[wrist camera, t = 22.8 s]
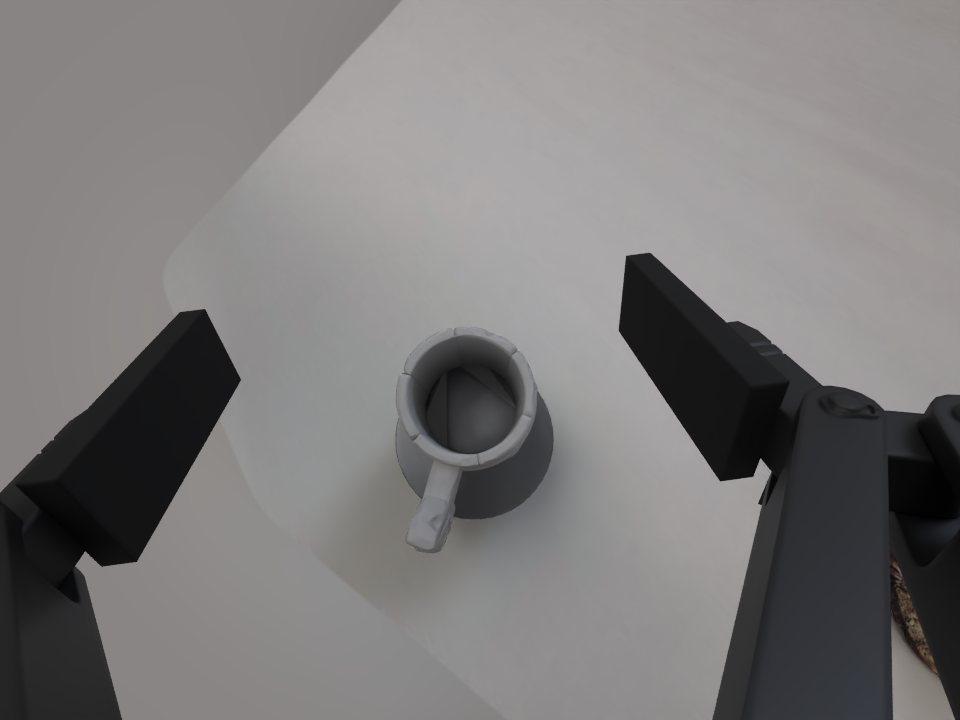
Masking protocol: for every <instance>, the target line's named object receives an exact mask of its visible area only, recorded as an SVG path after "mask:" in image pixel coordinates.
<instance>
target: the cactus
mask: <svg viewBox="0 0 960 720" xmlns="http://www.w3.org/2000/svg"><path fill="white" fill-rule="evenodd" d="M889 545H890V596H891V608H892V612H893V614H894V615H895V619H896V620H897V622H899V623H900V624H901V625H902V626H903V628H904V630H905V636H906V639H907V641H908V642H909V644H910V646H911V647H912V648H913V649H914V651H915V652H916V653H917V655H918V656H919V657H920V658H921V659H922V660H923V661H924V662H925V663H926V664H928V665H929V667H930V668H931V669H932V670H933V671H934V672H935V673H937V674H938V672H937V669H936V666H935V663H934V661H933V658H932V655H931V653H930V650H929V647H928V644H927V642H926V639H925V636H924V634H923V631H922V628H921V625H920V623H919V620H918V617H917V615H916V612H915V609H914V607H913V604H912V601H911V598H910V596H909V593H908V590H907V588H906V585H905V582H904V579H903V577H902V574H901V571H900V569H899V566H898V563H897V560H896V558H895V555H894V552H893V550H892V547H891V544H890V542H889Z"/></svg>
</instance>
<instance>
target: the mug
mask: <svg viewBox="0 0 960 720" xmlns="http://www.w3.org/2000/svg"><path fill="white" fill-rule="evenodd" d="M454 332H455V333H454ZM461 366H462V367H463V368H464V369H465V370H467V371H468V372H469V373H471V374H472V375H473V376H474V377H476V378H477V379H478V380H480V381H481V382H482V383H483V384H485V385H486V386H487V387H489V388H490V389H491V390H492V391H494V392H495V393H496V394H498V395H499V396H500V397H501V398H503V399H504V400H505V401H507V402H508V403H509V404H510V405H512V406H513V407H514V408H515V409H516V413H515V419H514V424H513V426H512V428H511V430H510V432H509V434H508V435H507V436H506V438H505V439H504V440H503V441H502V442H501V443H499V444H498V445H496V446H495V447H493V448H491V449H489V450H487V451H484V452H481V453H479V454H463V453H459V452H455V451H453V450H451V449H449V448H447V372H448V371H450V370H452V369H454V368H457V367H461ZM490 369H491V370H493V371H495V372H496V373H497V374H499V375H500V376H501V377H502V378H503V379H505V381H506V383H507V384H508V385H509V387H510V389H511V391H512V393H513V396H514V399H515V404H514V403H513V401H512V400H511V398H510V397H509V396H508V394H507V393H506V391H505V390H504V389H503V387H502V386H501V384H500V383H499V382H498V380H497V379H496V377H495V376H494V374H493V373H492V372H491V370H490ZM404 371H405V374H401V375H400V376H399V378H398V383H397V389H396V404H397V411H398V415H399V418H400V421H401V424H402V426H403V428H404V430H405V432H406V434H407V435H408V437H409V438H410V440H411V442H412V443H413V444H414V446H415V447H416V448H417V449H418V450H419V451H420V452H421V453H422V454H423V455H424V456H426V457H427V458H428V459H430V460H431V461H433V464H432V468H431V471H430V475H429V478H428V481H427V485H426V488H425V492H424V495H423V498H422V500H421V502H420V504H419V506H418V508H417V509H416V511H415V513H414V515H413V518H412V520H411V522H410V524H409V527H408V531H407V534H406V538H405V540H406V543H407V544H409V545H411V546H414V548H415V550H416V551H419V552H426V553H436V552H439V551H441V550H442V548H443V546H444V544H445V542H446V539H447V535H448V534H449V531H450V529H451V524H452V520H453V517H454V513H455V505H454V501H455V497H456V494H457V490H458V486H459V482H460V478H461V474H462V471H474V470H481V469H485V468H489V467H492V466H494V465H496V464H499V463H500V462H502V461H504V460H506V459H508V458H511V457H512V456H514V455H515V454H516V453H517V452H518V450H519V449H520V447H521V446H522V444H523V442H524V441H525V439H526V438H527V436H528V434H529V432H530V430H531V428H532V425H533V423H534V419H535V415H536V408H537V385H536V383H535V381H534V379H533V375H532V372H531V370H530V367H529V365H528V363H527V361H526V359H525V358H524V356H523V355H522V354H521V352H520V351H517V348H516V347H515V346H514V345H513V344H512V343H511V342H509V341H508V340H507V339H505V338H504V337H501V336H497V335H495V334H493V333H490V332H488V331H487V330H484V329H480V328H472V327H459V328H455V329H454V330H453V329H452V328H450V329H446V330H443V331H441V332H438V333H436V334H434V335H432V336H431V337H429V338H427V339H426V340H425V341H423V342H422V343H421V344H420V345H419V346H418V347H417V348H416V349H415V350H414V351H413V352H412V353H411V354H410V356H409V357H408V359H407V360H406V363H405V366H404ZM441 376H442V377H441ZM440 377H441V379H440V382H439V384H438V387H437V389H436V392H435V394H434V396H433V399H432V401H431V404H430V406H429V409H428V411H426V408H427V401H428V398H429V394H430V392H431V390H432V388H433V386H434V384H435V383H436V382H437V380H438V379H439V378H440Z"/></svg>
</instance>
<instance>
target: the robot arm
mask: <svg viewBox="0 0 960 720" xmlns="http://www.w3.org/2000/svg"><path fill="white" fill-rule="evenodd" d="M619 332H620V333H621V335H622V336H623V338H624V339H625V341H626V342H627V344H628V345H629V347H630V348H631V350H632V351H633V353H634V354H635V356H636V357H637V359H638V360H639V362H640V363H641V365H642V366H643V368H644V369H645V371H646V372H647V373H648V375H649V376H650V378H651V379H652V381H653V382H654V384H655V385H656V387H657V388H658V390H659V391H660V393H661V394H662V396H663V397H664V399H665V400H666V402H667V403H668V405H669V406H670V408H671V409H672V411H673V412H674V414H675V415H676V417H677V418H678V420H679V421H680V423H681V424H682V425H683V427H684V428H685V430H686V431H687V433H688V434H689V436H690V437H691V439H692V440H693V442H694V443H695V445H696V446H697V448H698V449H699V451H700V452H701V454H702V455H703V457H704V458H705V460H706V461H707V463H708V464H709V466H710V467H711V469H712V470H713V472H714V473H715V475H716V476H717V477H718V479H719V480H720V481H726V480H733V479H740V478H748V477H753V476H754V473H755V471H756V468H757V466H758V463H759V460H760V458H761V459H762V460H763V462H764V463H765V464H766V465H767V466H768V468H769V469H770V470H771V471H772V472H771V474H770V477H769V479H768V481H767V484H766V486H765V489H764V491H763V493H762V496H761V498H760V500H759V503H758V504H760V505H762V507H761V512H760V516H759V520H758V525H757V529H756V533H755V537H754V542H753V546H752V550H751V555H750V559H749V563H748V568H747V572H746V576H745V581H744V585H743V589H742V594H741V598H740V602H739V607H738V611H737V615H736V620H735V624H734V628H733V633H732V637H731V641H730V646H729V650H728V654H727V659H726V663H725V667H724V672H723V676H722V680H721V685H720V689H719V693H718V698H717V702H716V706H715V711H714V715H713V719H712V720H893V699H892V648H891V596H890V545H889V542H890V544H891V547H892V550H893V552H894V555H895V558H896V560H897V563H898V566H899V569H900V571H901V574H902V577H903V579H904V582H905V585H906V588H907V590H908V593H909V596H910V598H911V601H912V604H913V607H914V609H915V612H916V615H917V617H918V620H919V623H920V625H921V628H922V631H923V634H924V636H925V639H926V642H927V644H928V647H929V650H930V653H931V655H932V658H933V661H934V663H935V666H936V669H937V672H938V674H939V677H940V680H941V682H942V685H943V688H944V690H945V693H946V696H947V699H948V701H949V704H950V707H951V709H952V712H953V715H954V718H955V720H960V395H943V396H939V397H936V398H935V399H934V400H933V401H932V402H931V403H930V405H929V407H928V408H927V410H926V411H925V413H924V414H919V413H908V412H896V411H884V409H883V408H881V407H880V406H879V405H878V404H877V403H876V402H875V401H874V400H872V399H870V398H868V397H867V396H865V395H863V394H861V393H859V392H856V391H853V390H850V389H847V388H842V387H835V386H822V385H821V384H820V383H819V382H818V381H816V380H815V379H814V378H813V377H812V376H811V375H809V374H808V373H807V372H806V371H805V370H804V369H802V368H801V367H800V366H799V365H798V364H797V363H795V362H794V361H793V360H792V359H791V358H790V357H788V356H787V355H786V354H783V353H782V351H781V350H780V349H779V348H778V347H777V346H775V345H774V344H771V341H770V340H768V339H767V338H766V337H765V336H764V335H763V334H761V333H760V332H759V331H758V330H756V329H754V328H752V327H750V326H747V325H745V324H743V323H741V322H739V321H735V322H728V323H726V322H725V321H724V320H723V319H722V318H721V317H720V316H719V315H717V314H716V313H715V312H714V311H713V310H712V309H711V308H710V307H709V306H708V305H707V304H705V303H704V302H703V301H702V300H701V299H700V298H699V297H698V296H697V295H696V294H695V293H694V292H692V291H691V290H690V289H689V288H688V287H687V286H686V285H685V284H684V283H683V282H682V281H680V280H679V279H678V278H677V277H676V276H675V275H674V274H673V273H672V272H671V271H670V270H668V269H667V268H666V267H665V266H664V265H663V264H662V263H661V262H660V261H659V260H658V259H657V258H655V257H654V256H653V255H652V254H651V253H645V254H637V255H629V256H626V263H625V273H624V283H623V293H622V303H621V313H620V323H619ZM240 381H241V379H240V377H239V375H238V373H237V371H236V369H235V367H234V365H233V363H232V361H231V359H230V357H229V355H228V353H227V351H226V349H225V347H224V345H223V343H222V341H221V339H220V338H219V336H218V334H217V332H216V330H215V328H214V326H213V324H212V322H211V320H210V318H209V316H208V314H207V312H206V310H205V309H202V310H194V311H186V312H180V313H179V314H178V315H177V316H176V317H175V318H174V319H173V320H172V321H171V322H170V323H169V324H168V325H167V326H166V327H165V329H163V330H162V331H161V333H160V334H159V335H158V336H157V337H156V338H155V339H154V340H153V341H152V342H151V343H150V344H149V345H148V346H147V347H146V348H145V349H144V350H143V351H142V352H141V353H140V354H139V356H138V357H137V358H136V359H135V360H134V361H133V362H132V363H131V364H130V365H129V366H128V367H127V368H126V369H125V370H124V371H123V372H122V373H121V374H120V375H119V377H118V378H117V379H116V380H115V381H114V382H113V383H112V384H111V385H110V386H109V387H108V388H107V389H106V390H105V391H104V392H103V393H102V394H101V395H100V396H99V398H97V399H96V401H95V402H94V403H93V404H92V405H91V406H90V407H89V408H88V409H87V410H86V411H84V412H83V413H82V414H80V415H79V416H77V417H75V418H74V419H73V420H71V421H70V422H69V423H68V424H67V425H66V426H65V427H64V428H63V429H62V430H61V431H60V432H59V433H58V434H57V435H56V436H55V437H54V440H53V441H50V442H49V443H48V444H47V445H46V446H45V447H44V448H43V449H42V450H41V451H42V453H41V454H37V455H36V457H35V458H34V459H33V460H32V461H31V462H30V463H29V464H28V465H27V466H26V467H25V468H24V469H23V470H22V471H21V472H20V473H19V474H18V475H17V476H16V477H15V478H14V479H13V480H12V481H11V482H10V483H9V484H8V485H7V486H6V487H5V488H4V489H3V490H2V492H1V493H0V720H122V718H121V714H120V710H119V706H118V702H117V699H116V695H115V691H114V687H113V684H112V679H111V676H110V672H109V668H108V664H107V660H106V657H105V653H104V649H103V645H102V641H101V638H100V634H99V630H98V626H97V622H96V618H95V614H94V611H93V607H92V603H91V599H90V596H89V592H88V588H87V584H86V580H85V577H84V575H83V574H82V573H81V571H79V570H78V569H77V568H76V567H75V565H76V564H77V562H78V561H79V559H80V558H81V556H82V555H83V554H84V552H85V551H86V552H87V553H88V554H89V555H90V556H91V557H92V558H93V559H94V560H95V561H96V562H97V563H98V564H99V565H101V566H102V567H103V566H110V565H116V564H124V563H132V562H137V560H138V558H139V557H140V555H141V553H142V552H143V550H144V548H145V547H146V545H147V543H148V541H149V539H150V538H151V536H152V534H153V533H154V531H155V529H156V527H157V526H158V524H159V522H160V520H161V519H162V517H163V515H164V513H165V512H166V510H167V508H168V506H169V504H170V503H171V501H172V499H173V498H174V496H175V494H176V492H177V491H178V489H179V487H180V485H181V484H182V482H183V480H184V478H185V477H186V475H187V473H188V472H189V470H190V468H191V466H192V465H193V463H194V461H195V459H196V458H197V456H198V454H199V452H200V451H201V449H202V447H203V445H204V444H205V442H206V440H207V438H208V437H209V435H210V433H211V431H212V430H213V428H214V426H215V424H216V423H217V421H218V419H219V417H220V416H221V414H222V412H223V411H224V409H225V407H226V405H227V404H228V402H229V400H230V398H231V397H232V395H233V393H234V391H235V390H236V388H237V386H238V384H239V383H240Z"/></svg>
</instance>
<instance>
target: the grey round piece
mask: <svg viewBox="0 0 960 720" xmlns="http://www.w3.org/2000/svg"><path fill="white" fill-rule="evenodd" d="M490 370H491V369H490ZM491 372H492V373H493V374H494V376H495V377H496V379H497V380H498V382H499V383H500V384H501V386H502V387H503V389H504V390H505V391H506V393H507V394H508V396H509V397H510V398H511V400H512V401H513V403H514V404H515V399H514V396H513V393H512V391H511V389H510V387H509V385H508V384H507V383H506V381H505V379H503V378H502V377H501V376H500V375H499V374H497V373H496V372H495V371H493V370H491ZM441 377H442V376H441ZM441 377H440V378H439V379H438V380H437V382H436V383H435V384H434V386H433V388H432V390H431V392H430V394H429V398H428V401H427V408H426V411H428V409H429V406H430V404H431V401H432V399H433V396H434V394H435V392H436V389H437V387H438V384H439V382H440V379H441ZM515 413H516V409H515V408H514V407H513V406H512V405H510V404H509V403H508V402H507V401H505V400H504V399H503V398H501V397H500V396H499V395H498V394H496V393H495V392H494V391H492V390H491V389H490V388H489V387H487V386H486V385H485V384H483V383H482V382H481V381H480V380H478V379H477V378H476V377H474V376H473V375H472V374H471V373H469V372H468V371H467V370H465V369H464V368H463V367H462V366H461V367H457V368H454V369H452V370H450V371H448V372H447V448H449V449H451V450H453V451H455V452H459V453H463V454H479V453H481V452H484V451H487V450H489V449H491V448H493V447H495V446H496V445H498V444H499V443H501V442H502V441H503V440H504V439H505V438H506V436H507V435H508V434H509V432H510V430H511V428H512V426H513V424H514V419H515ZM396 451H397V457H398V461H399V464H400V467H401V470H402V472H403V474H404V476H405V478H406V480H407V482H408V483H409V485H410V486H411V488H412V489H413V490H414V491H415V493H416V494H417V495H418V496H419V497H420V498H421V499H422V498H423V495H424V492H425V488H426V485H427V481H428V478H429V475H430V471H431V468H432V464H433V461H431V460H430V459H428V458H427V457H426V456H424V455H423V454H422V453H421V452H420V451H419V450H418V449H417V448H416V447H415V446H414V444H413V443H412V442H411V440H410V438H409V437H408V435H407V434H406V432H405V430H404V428H403V426H402V424H401V421H400V418H399V419H398V422H397V428H396ZM552 451H553V428H552V422H551V418H550V415H549V412H548V409H547V407H546V405H545V403H544V400H543V399H542V397H541V396H540V394H539V393H538V391H537V408H536V415H535V419H534V423H533V425H532V428H531V430H530V432H529V434H528V436H527V438H526V439H525V441H524V442H523V444H522V446H521V447H520V449H519V450H518V452H517V453H516V454H515V455H514V456H512V457H511V458H508V459H506V460H504V461H502V462H500V463H499V464H496V465H494V466H492V467H489V468H485V469H481V470H474V471H462V474H461V478H460V482H459V486H458V490H457V494H456V497H455V501H454V505H455V513H454V517H458V518H462V519H486V518H492V517H495V516H498V515H502V514H504V513H506V512H508V511H510V510H513V509H514V508H516V507H517V506H519V505H520V504H522V503H523V502H524V501H525V500H526V499H527V498H529V497H530V496H531V494H532V493H533V492H534V491H535V490H536V489H537V487H538V486H539V484H540V483H541V481H542V480H543V478H544V476H545V474H546V472H547V469H548V467H549V464H550V461H551V456H552Z"/></svg>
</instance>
